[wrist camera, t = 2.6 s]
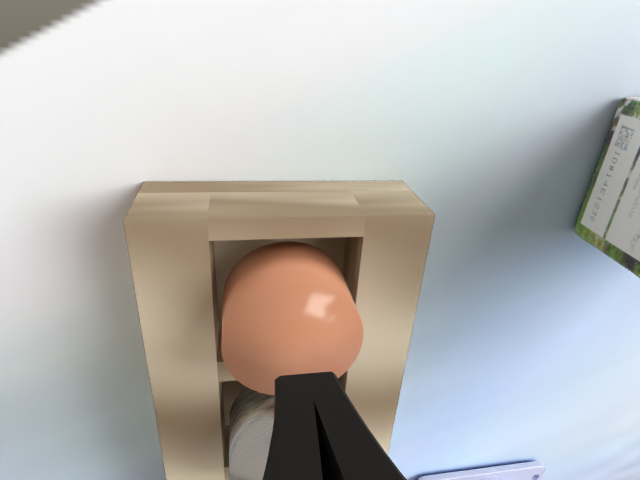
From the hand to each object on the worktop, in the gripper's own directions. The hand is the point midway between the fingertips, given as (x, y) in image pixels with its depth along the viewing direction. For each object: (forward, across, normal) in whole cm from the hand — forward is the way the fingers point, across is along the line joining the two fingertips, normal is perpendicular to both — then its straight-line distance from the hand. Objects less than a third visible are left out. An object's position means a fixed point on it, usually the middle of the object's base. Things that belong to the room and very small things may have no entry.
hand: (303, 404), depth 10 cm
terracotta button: (+5, 0, 0) cm, 5 cm away
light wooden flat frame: (+7, 0, +6) cm, 9 cm away
